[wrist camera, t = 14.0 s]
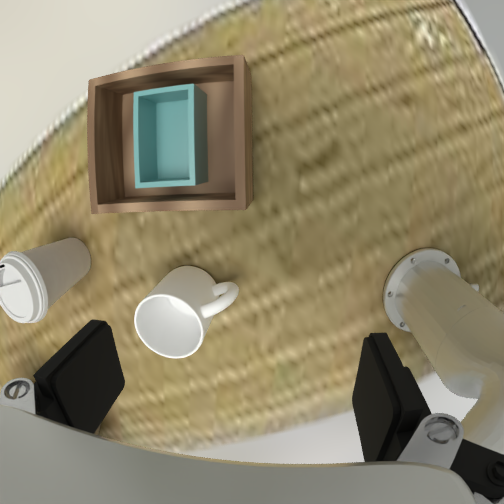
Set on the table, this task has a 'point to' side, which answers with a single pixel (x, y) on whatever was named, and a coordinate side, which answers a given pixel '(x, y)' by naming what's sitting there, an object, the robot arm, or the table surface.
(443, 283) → the robot arm
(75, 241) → the coffee cup
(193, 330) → the mug
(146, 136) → the small crate
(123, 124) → the big crate
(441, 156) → the table surface
